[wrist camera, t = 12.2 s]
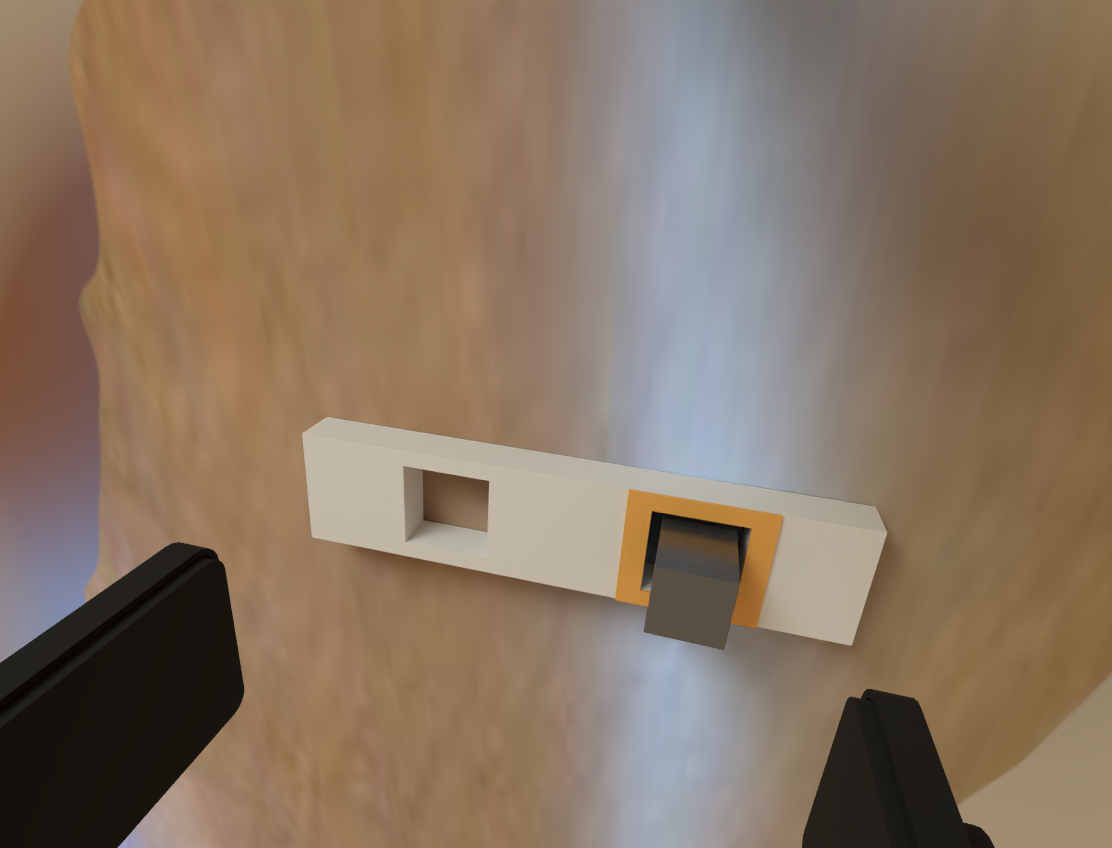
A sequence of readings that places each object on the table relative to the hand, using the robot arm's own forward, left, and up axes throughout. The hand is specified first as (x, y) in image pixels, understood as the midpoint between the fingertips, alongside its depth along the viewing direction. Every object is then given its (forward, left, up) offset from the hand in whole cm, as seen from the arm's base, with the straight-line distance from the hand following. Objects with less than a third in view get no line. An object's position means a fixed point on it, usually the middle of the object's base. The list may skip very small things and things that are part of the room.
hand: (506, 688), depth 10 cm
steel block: (+15, +4, -30) cm, 34 cm away
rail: (+15, -4, -30) cm, 34 cm away
